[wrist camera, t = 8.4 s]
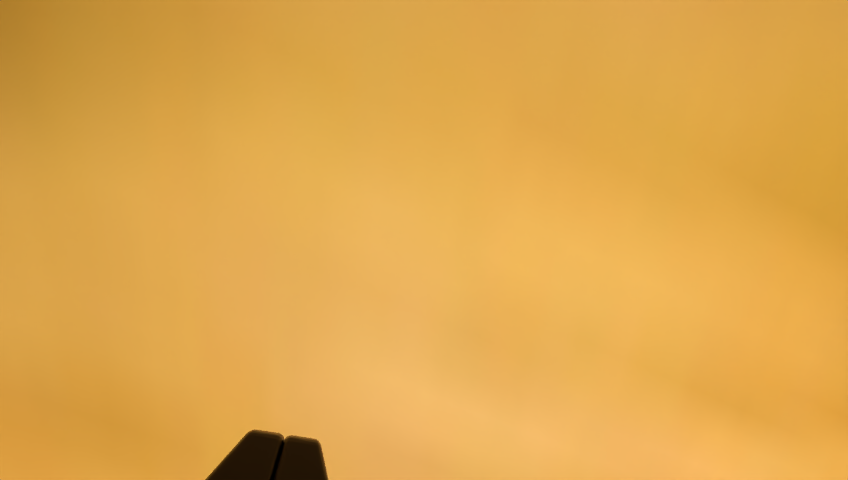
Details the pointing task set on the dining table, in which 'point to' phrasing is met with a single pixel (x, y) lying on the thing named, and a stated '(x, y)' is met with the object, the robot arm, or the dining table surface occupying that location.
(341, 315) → the dining table surface
